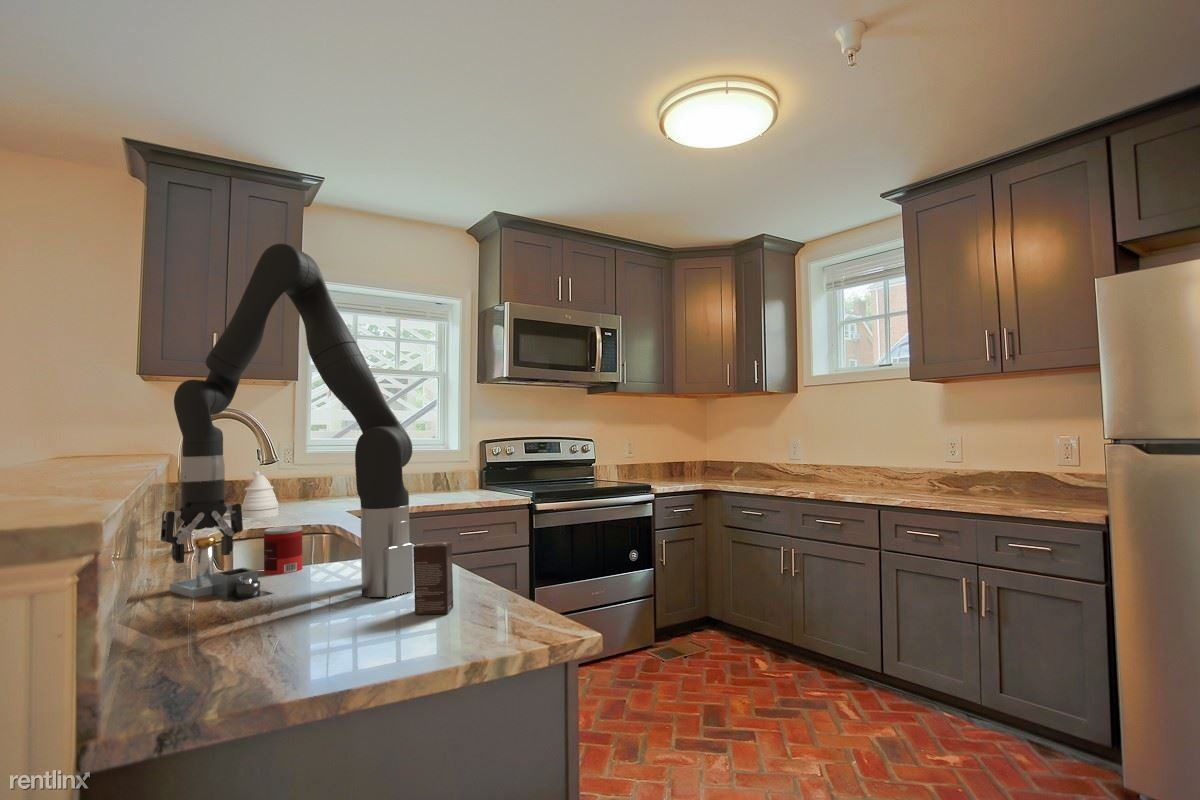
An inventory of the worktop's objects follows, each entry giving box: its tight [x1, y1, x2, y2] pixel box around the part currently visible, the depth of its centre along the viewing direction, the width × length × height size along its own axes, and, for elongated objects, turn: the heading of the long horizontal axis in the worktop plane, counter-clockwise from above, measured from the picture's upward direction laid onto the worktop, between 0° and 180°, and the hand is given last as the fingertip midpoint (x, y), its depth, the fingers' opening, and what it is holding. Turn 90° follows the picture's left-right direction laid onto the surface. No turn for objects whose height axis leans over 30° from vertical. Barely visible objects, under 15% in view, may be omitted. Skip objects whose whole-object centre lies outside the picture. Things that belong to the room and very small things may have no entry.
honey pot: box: [241, 470, 280, 518], centre depth 247 cm, size 13×13×18 cm
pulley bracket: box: [208, 567, 274, 603], centre depth 122 cm, size 11×7×6 cm, turn 55°
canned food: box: [263, 525, 303, 576], centre depth 142 cm, size 8×8×11 cm
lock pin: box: [192, 536, 217, 588], centre depth 126 cm, size 4×4×11 cm
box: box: [413, 541, 454, 616], centre depth 112 cm, size 6×4×12 cm
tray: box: [169, 577, 213, 599], centre depth 126 cm, size 10×8×3 cm
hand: (203, 558), depth 126 cm, fingers open, 8 cm apart
